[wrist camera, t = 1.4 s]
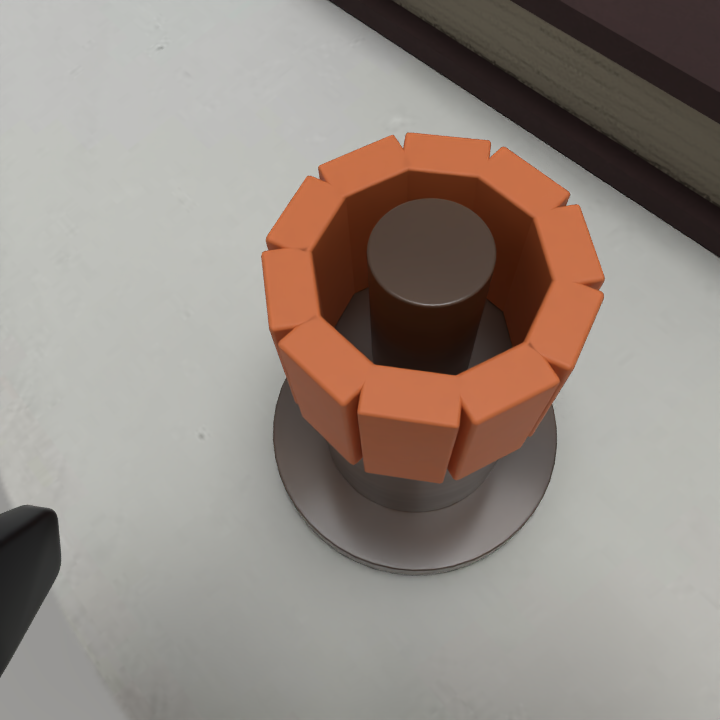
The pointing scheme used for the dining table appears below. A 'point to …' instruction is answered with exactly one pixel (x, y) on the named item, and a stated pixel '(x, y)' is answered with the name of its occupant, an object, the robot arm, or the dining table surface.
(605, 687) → the dining table surface
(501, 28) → the book
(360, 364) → the ring
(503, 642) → the dining table surface
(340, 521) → the peg stand
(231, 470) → the dining table surface
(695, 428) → the dining table surface
